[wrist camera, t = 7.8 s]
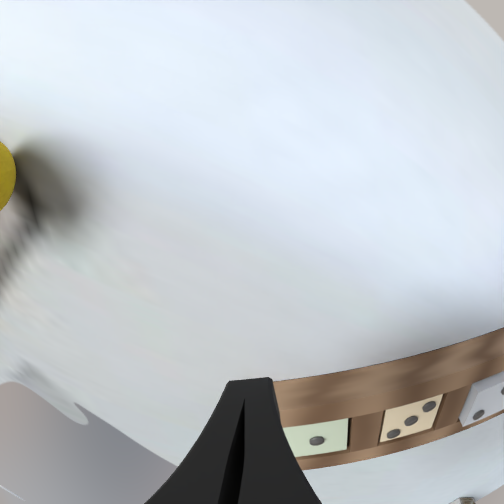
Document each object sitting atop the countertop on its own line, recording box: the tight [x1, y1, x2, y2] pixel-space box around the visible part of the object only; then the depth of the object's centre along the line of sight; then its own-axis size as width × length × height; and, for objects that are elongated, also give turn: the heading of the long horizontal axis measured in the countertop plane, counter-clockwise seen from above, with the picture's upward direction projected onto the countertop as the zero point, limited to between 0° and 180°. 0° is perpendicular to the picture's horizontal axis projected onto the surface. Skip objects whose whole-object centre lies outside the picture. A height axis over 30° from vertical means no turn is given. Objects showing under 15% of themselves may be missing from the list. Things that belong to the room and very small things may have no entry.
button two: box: [459, 371, 504, 427], centre depth 20 cm, size 5×5×3 cm
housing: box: [273, 328, 504, 470], centre depth 22 cm, size 26×10×3 cm, turn 101°
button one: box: [283, 418, 348, 457], centre depth 23 cm, size 5×5×3 cm
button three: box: [379, 394, 443, 442], centre depth 22 cm, size 5×5×3 cm
